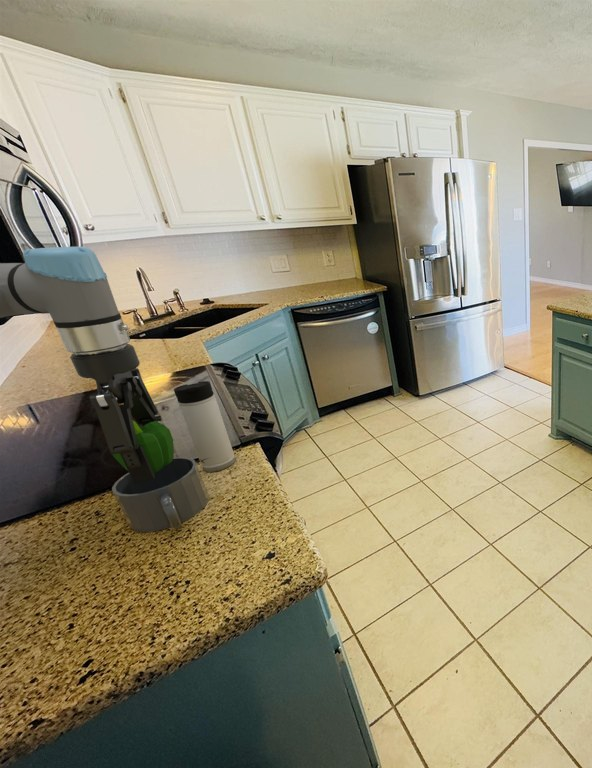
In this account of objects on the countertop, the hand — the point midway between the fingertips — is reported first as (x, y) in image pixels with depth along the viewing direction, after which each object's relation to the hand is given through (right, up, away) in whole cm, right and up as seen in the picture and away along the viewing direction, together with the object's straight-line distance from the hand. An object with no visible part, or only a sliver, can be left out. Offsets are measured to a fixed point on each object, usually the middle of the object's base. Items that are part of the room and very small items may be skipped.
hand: (152, 467), depth 74 cm
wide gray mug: (+2, -9, +3) cm, 10 cm away
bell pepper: (0, 0, 0) cm, 1 cm away
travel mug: (-1, -3, +18) cm, 18 cm away
